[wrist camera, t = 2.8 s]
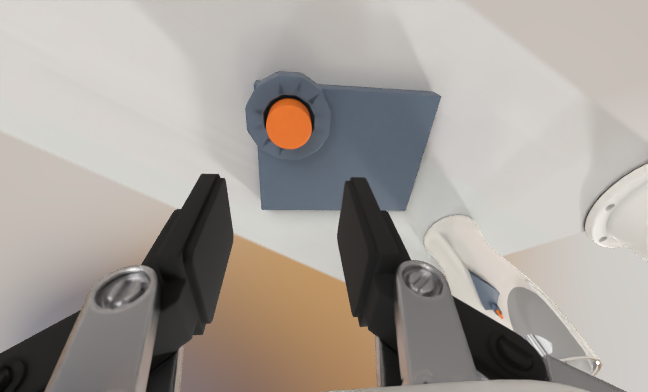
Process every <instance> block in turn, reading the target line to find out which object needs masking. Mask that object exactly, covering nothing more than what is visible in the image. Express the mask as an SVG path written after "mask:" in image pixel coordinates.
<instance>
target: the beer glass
mask: <svg viewBox="0 0 648 392" xmlns="http://www.w3.org/2000/svg"><path fill="white" fill-rule="evenodd" d="M424 245H425V248H426V249H427V251H428V252H429V253H430V254H431V255H432V256H433V257H434V259H435V260H436V261H437V262H438V263H439V265H440V266H441V268H442V270H443V272H444V274H445V276H446V278H447V281H448V284H449V287H450V289H451V292H452V295H453V296H454V297H456V298H457V299H459V300H461V301H463V302H464V303H466V304H468V305H469V306H471V307H473V308H475V309H476V310H478V311H480V312H481V313H483V314H485V315H487V316H488V317H490V318H492V319H493V320H495V321H497V322H499V323H500V324H502V325H504V326H505V327H507V328H509V329H511V330H512V331H514V332H516V333H517V334H519V335H520V336H522V337H523V338H524V339H526V340H527V341H528V342H529V343H530V344H531V345H532V346H533V347H534V348H535V349H536V350H537V352H538V353H539V355H540V356H541V357H543V356H544V355H546V354H547V355H550V356H552V357H554V358H556V359H558V360H560V361H562V362H564V363H567V364H569V365H571V366H573V367H575V368H577V369H579V370H581V371H583V372H586V373H588V374H590V375H592V376H595V375H596V374H597V373H598V372H599V371H600V370H601V368H602V366H603V364H602V361H601V360H600V359H599V358H598V357H597V356H596V354H595V353H594V352H593V351H592V349H591V348H590V347H589V346H588V344H587V343H586V342H585V341H584V339H583V338H582V336H581V335H580V334H579V333H578V332H577V330H576V329H575V328H574V326H573V325H572V324H571V323H570V321H569V320H568V319H567V318H566V316H564V314H563V313H562V312H561V311H560V310H559V308H558V307H557V306H556V305H555V304H554V303H553V302H552V301H551V300H550V298H548V296H547V295H546V294H545V293H544V292H543V291H542V290H541V289H540V288H539V287H538V286H537V285H535V284H534V283H533V282H532V281H531V280H529V278H527V277H526V276H525V275H524V274H523V273H522V272H520V271H519V270H518V269H517V268H516V267H514V266H513V265H512V264H511V263H509V262H508V261H507V260H506V259H504V258H503V257H502V256H501V255H500V254H498V253H497V252H496V251H495V250H494V249H493V248H492V247H491V246H490V245H489V244H488V243H487V241H486V240H485V239H484V237H483V236H482V234H481V232H480V230H479V228H478V226H477V225H476V223H475V222H474V220H473V219H471V218H470V217H468V216H464V215H452V216H448V217H445V218H443V219H441V220H439V221H437V222H436V223H435V224H433V225H432V226H431V227H430V228H429V229H428V231H427V232H426V234H425V237H424Z"/></svg>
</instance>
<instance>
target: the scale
mask: <svg viewBox="0 0 648 392" xmlns="http://www.w3.org/2000/svg"><path fill="white" fill-rule="evenodd" d="M286 98H291V99H295V100H298V101H300V102H301V103H303V104H304V105H305V106H306V108H307V109H308V111H309V114H310V118H311V124H312V132H311V135H310V138H309V139H308V141H307V142H306V143H305V144H304V145H302V146H301V147H298V148H295V149H284V148H281V147H279V146H277V145H275V144H274V143H273V142H272V141H271V139H270V138H269V136H268V134H267V131H266V122H267V118H268V114H269V111H270V108H271V107H272V106H273V105H274V104H275V103H276V102H277V101H279V100H281V99H286ZM440 98H441V96H440V95H438V94H436V93H434V92H428V91H413V90H398V89H382V88H367V87H352V86H337V85H321V84H317V83H315V82H314V81H312V80H311V79H310V78H308V77H307V76H305V75H304V74H302V73H297V72H283V71H279V72H276V73H274V74H272V75H271V76H269V77H267V78H265V79H263V80H262V81H260V80H256V82H255V84H254V92H253V94H252V96H251V97H250V99H249V101H248V103H247V105H246V108H245V110H246V122H247V130H248V132H249V134H250V135H251V137H252V138H253V140H254V141H255V142H256V144H257V145H258V160H259V176H260V192H261V208H262V210H341V205H342V199H343V192H344V185H345V181H350V178H351V177H365V178H366V179H367V181H368V183H369V186H370V188H371V190H372V192H373V194H374V197H375V199H376V201H377V203H378V206H379V208H380V210H388V211H405V210H406V207H407V204H408V201H409V197H410V194H411V191H412V188H413V185H414V181H415V178H416V175H417V172H418V169H419V165H420V162H421V159H422V156H423V153H424V150H425V146H426V143H427V140H428V137H429V134H430V130H431V127H432V124H433V121H434V118H435V114H436V111H437V108H438V105H439V102H440Z"/></svg>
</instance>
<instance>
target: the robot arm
mask: <svg viewBox="0 0 648 392" xmlns="http://www.w3.org/2000/svg"><path fill="white" fill-rule="evenodd" d="M585 231H586V234H587V236H588V237H589V238H590V239H591V240H593V241H594V242H595V243H596V244H598V245H601V246H604V247H624V246H625V247H627V248H628V249H630V250H631V251H633V252H634V253H635V254H637V255H638V256H640V257H641V258H643V259H644V260H645V261H647V262H648V163H647V164H645V165H643V166H641V167H640V168H638V169H636V170H634V171H632V172H631V173H629V174H628V175H626V176H625V177H623V178H622V179H620V180H619V181H618V182H616V183H615V184H614V185H613V186H611V187H610V188H609V189H608V190H607V191H606V192H605V193H604V194H603V195H602V196H601V197H600V198H599V199H598V201H597V202H596V203H595V204H594V206H593V207H592V209H591V210H590V212H589V214H588V216H587V219H586V224H585ZM337 240H338V246H339V251H340V256H341V261H342V266H343V271H344V276H345V281H346V286H347V291H348V297H349V301H350V306H351V312H352V315H353V317H358V321H359V325H360V327H366V326H368V330H369V331H371V332H372V333H373V334H375V347H376V348H375V350H376V379H377V388H366V389H352V390H338V391H325V392H626V391H624V390H622V389H619V388H617V387H615V386H613V385H611V384H609V383H607V382H604V381H603V380H600V379H598V378H596V377H594V376H592V375H590V374H588V373H586V372H583V371H581V370H579V369H577V368H575V367H573V366H571V365H569V364H567V363H564V362H562V361H560V360H558V359H556V358H554V357H552V356H550V355H547V354H546V355H544V356H543V357H541V356H540V355H539V353H538V352H537V350H536V349H535V348H534V347H533V346H532V345H531V344H530V343H529V342H528V341H527V340H526V339H524V338H523V337H522V336H520V335H519V334H517V333H516V332H514V331H512V330H511V329H509V328H507V327H505V326H504V325H502V324H500V323H499V322H497V321H495V320H493V319H492V318H490V317H488V316H487V315H485V314H483V313H481V312H480V311H478V310H476V309H475V308H473V307H471V306H469V305H468V304H466V303H464V302H463V301H461V300H459V299H457V298H456V297H454V296H452V293H451V290H450V287H449V284H448V282H447V280H446V278H445V276H444V275H443V274H442V273H441V272H440V271H439V270H438V269H436V268H435V267H434V266H432V265H430V264H428V263H426V262H422V261H418V260H411V259H410V257H409V255H408V253H407V250H406V248H405V246H404V244H403V242H402V240H401V238H400V236H399V234H398V232H397V230H396V228H395V226H394V224H393V221H392V219H391V217H390V215H389V213H388V212H387V211H385V210H380V208H379V206H378V203H377V201H376V199H375V197H374V194H373V192H372V190H371V188H370V186H369V183H368V181H367V179H366V178H365V177H351V178H350V181H345V185H344V192H343V199H342V205H341V212H340V219H339V226H338V233H337ZM232 244H233V228H232V221H231V214H230V207H229V200H228V193H227V186H226V180H225V178H220V176H219V174H201V176H200V177H199V179H198V181H197V183H196V184H195V186H194V188H193V190H192V191H191V193H190V195H189V197H188V198H187V200H186V202H185V203H184V205H183V207H182V209H177V210H175V211H174V212H173V213H172V215H171V216H170V218H169V220H168V222H167V223H166V225H165V226H164V228H163V230H162V231H161V233H160V235H159V236H158V238H157V239H156V241H155V243H154V244H153V246H152V248H151V249H150V251H149V253H148V254H147V256H146V258H145V259H144V261H143V263H142V264H141V265H135V266H128V267H124V268H121V269H118V270H116V271H114V272H111V273H110V274H108V275H106V276H105V277H103V278H102V279H100V280H99V281H98V282H97V283H96V284H95V285H94V286H93V287H92V289H91V290H90V292H89V293H88V295H87V297H86V300H85V302H84V304H83V306H82V309H81V310H80V311H78V312H76V313H75V314H72V315H71V316H69V317H67V318H65V319H63V320H61V321H60V322H58V323H56V324H54V325H52V326H50V327H48V328H47V329H45V330H43V331H41V332H39V333H37V334H35V335H34V336H32V337H30V338H28V339H26V340H24V341H23V342H21V343H19V344H17V345H15V346H13V347H11V348H10V349H8V350H6V351H4V352H2V353H0V392H180V384H181V373H182V364H183V353H184V344H185V343H187V342H188V341H190V340H191V339H192V336H193V335H203V332H204V329H205V325H206V324H208V323H211V322H212V320H213V316H214V313H215V309H216V304H217V301H218V298H219V294H220V289H221V286H222V282H223V278H224V274H225V271H226V267H227V263H228V259H229V255H230V252H231V248H232Z"/></svg>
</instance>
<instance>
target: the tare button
mask: <svg viewBox="0 0 648 392" xmlns="http://www.w3.org/2000/svg"><path fill="white" fill-rule="evenodd" d="M266 131H267V134H268V136H269V138H270V139H271V141H272V142H273V143H274V144H275V145H277V146H279V147H281V148H284V149H295V148H298V147H301V146H302V145H304V144H305V143H306V142H307V141H308V139H309V138H310V135H311V132H312V124H311V118H310V114H309V111H308V109H307V108H306V106H305V105H304V104H303V103H301V102H300V101H298V100H295V99H291V98H286V99H281V100H279V101H277V102H276V103H275V104H274V105H273V106H272V107H271V108H270V111H269V114H268V118H267V122H266Z"/></svg>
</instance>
